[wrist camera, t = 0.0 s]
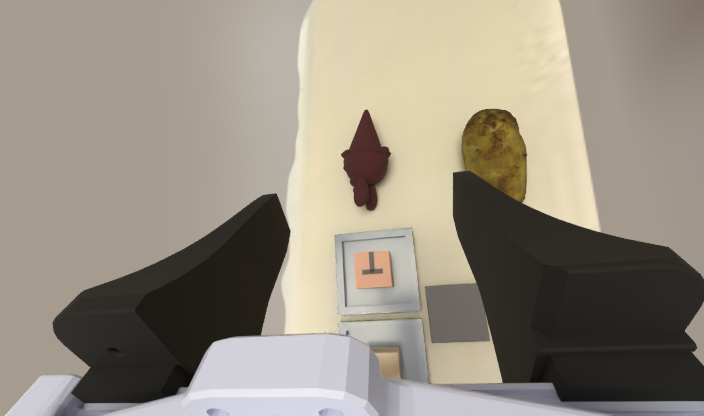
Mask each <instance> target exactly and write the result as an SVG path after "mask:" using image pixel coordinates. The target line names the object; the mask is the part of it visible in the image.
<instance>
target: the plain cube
mask: <svg viewBox="0 0 704 416" xmlns="http://www.w3.org/2000/svg"><path fill="white" fill-rule="evenodd" d="M370 348H371V349H372V350H373V352H374V353H375V355H376V356H377V357H378V359H379V363H380V367H381V371H382V374H383V376H388V377H394V378H400V379H402V371H401V360H400V350H399V346H380V347H370Z"/></svg>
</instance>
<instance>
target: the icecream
mask: <svg viewBox="0 0 704 416" xmlns="http://www.w3.org/2000/svg"><path fill="white" fill-rule="evenodd" d="M390 155H391V153H390V152H389V148H388V147H381V144H380V142H379V139H378V136H377V133H376V131H375V128H374V125H373V122H372V120H371V117H370V114H369V111H368V110H365V111H364V113H363V115H362V118H361V120H360V123H359V126H358V128H357V131H356V133H355V136H354V138H353V141H352V143H351V146H350V148H349V150H346V151H344V152H343V153H342V154H341V156H342V157H343V158H344V170H345V171H346V172H347V174H348V176H349V178H350V179H351V180H350V184H351V185H352V186H354V187H355V188H354V189H353V192H354V201H355V203H356V205H357V206H358V207H361V206H363V205H364V204H365V203H366V207H367V209H368V210H373V209H374V208H375V207H376V203H377V195H376V189H375V187H374V184H375V183H377V182H379V181H380V180H381V179H382V178H383V177H384V175H385V173H386V170H387V164H388V158H389V156H390Z"/></svg>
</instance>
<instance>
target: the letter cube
mask: <svg viewBox="0 0 704 416" xmlns="http://www.w3.org/2000/svg"><path fill="white" fill-rule="evenodd" d="M354 265H355V281H356V289H366V288H382V287H394V284H393V273H392V263H391V254H390V252H389V250H383V251H370V252H358V253H354Z"/></svg>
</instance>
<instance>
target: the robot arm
mask: <svg viewBox="0 0 704 416" xmlns="http://www.w3.org/2000/svg"><path fill="white" fill-rule="evenodd" d="M453 218H454V222H455V226H456V230H457V234H458V238H459V240H460V243H461V245H462V248H463V250H464V253H465V255H466V258H467V260H468V263H469V265H470V268H471V270H472V273H473V275H474V278H475V280H476V283H477V286H478V288H479V291H480V295H481V298H482V302H483V306H484V309H485V313H486V316H487V320H488V324H489V328H490V332H491V336H492V339H493V343H494V348H495V352H496V356H497V360H498V364H499V368H500V372H501V377H502V381H503V383H488V384H430V383H424V382H418V381H412V380H406V379H400V378H394V377H388V376H383V374H382V371H381V367H380V363H379V359H378V357H377V356H376V355H375V353H374V352H373V350H372V349H371V348H370V346H368V345H367V344H366V343H364V342H362V341H360V340H358V339H355V338H353V337H351V336H349V335H342V334H333V333H310V334H286V335H261V332H262V327H263V323H264V319H265V314H266V310H267V306H268V302H269V299H270V296H271V293H272V291H273V288H274V285H275V282H276V280H277V277H278V274H279V272H280V269H281V266H282V263H283V260H284V258H285V254H286V252H287V247H288V243H289V237H290V229H289V226H288V223H287V220H286V218H285V215H284V212H283V210H282V207H281V204H280V201H279V199H278V196H277V194H268V195H263V196H261V197H259V198H257V199H256V200H255V201H253V202H252V203H250V204H249V205H248V206H246V207H245V208H244V209H242V210H241V211H240V212H238V213H237V214H236V215H235V216H233V217H232V218H230V219H229V220H228V221H226V222H225V223H224V224H222V225H221V226H219V227H218V228H216V229H215V230H214V231H212V232H211V233H209V234H208V235H206V236H205V237H203V238H201V239H200V240H198V241H197V242H195V243H193V244H191V245H190V246H188V247H186V248H185V249H183V250H181V251H179V252H177V253H175V254H173V255H171V256H169V257H167V258H165V259H163V260H161V261H159V262H157V263H155V264H153V265H150V266H148V267H146V268H144V269H141V270H139V271H137V272H134V273H131V274H129V275H126V276H124V277H121V278H119V279H116V280H113V281H110V282H107V283H104V284H101V285H99V286H96V287H93V288H90V289H87V290H84V291H83V292H81V293H80V294H79V295H78V296H77V297H76V298H75V299H74V300H73V301H72V302H71V303H70V304H69V305H68V306H67V307H66V308H65V309H64V310H63V311H62V312H61V313H60V314H59V315H58V316H57V317H56V318H55V319H54V321H53V330H54V333H55V335H56V336H57V338H58V339H59V340H60V341H61V342H62V343H63V344H64V345H65V346H66V347H67V348H68V349H69V350H71V351H72V352H73V353H74V354H75V355H77V356H78V357H79V358H80V359H81V360H83V361H84V362H85V363H86V364H87V365H88V366H89V367H91V368H90V369H89V370H88V372H87V373H86V374H85V375H84V377H81V376H78V375H73V374H53V375H42V376H40V377H39V378H38V379H37V381H36V382H35V383H34V384H33V385H32V386H31V387H30V388H29V390H27V392H26V393H25V394H24V395H23V396H22V397H21V398H20V400H19V401H18V402H17V403H16V404H15V405H14V406H13V407H12V408H11V410H9V412H8V413H7V414H6V415H5V416H704V366H703V365H702V363H701V362H700V361H699V360H698V359H697V358H696V357H695V356H694V354H693V353H692V352H693V351H695V350H696V349H697V346H696V344H695V342H694V341H693V340H692V339H691V338H690V337H689V336H688V335H687V334H686V332H685V329H686V328H687V326H688V325H689V324H690V322H691V321H692V319H693V318H694V316H695V315H696V313H697V312H698V310H699V309H700V307H701V306H702V304H703V301H704V279H703V277H702V276H701V274H700V273H698V272H697V271H696V270H695V269H694V268H692V267H691V266H690V265H689V264H688V263H687V262H686V261H684V260H683V259H682V258H681V257H680V256H678V255H677V254H676V253H675V252H674V251H673V250H671V249H670V248H669V247H665V246H660V245H654V244H649V243H644V242H639V241H634V240H629V239H624V238H620V237H616V236H612V235H608V234H604V233H601V232H597V231H593V230H590V229H586V228H583V227H580V226H577V225H574V224H571V223H568V222H565V221H562V220H559V219H557V218H554V217H552V216H549V215H547V214H544V213H542V212H540V211H538V210H535V209H533V208H531V207H529V206H527V205H525V204H523V203H521V202H519V201H517V200H515V199H514V198H512V197H510V196H508V195H507V194H505V193H503V192H502V191H500V190H498V189H497V188H495V187H494V186H492V185H491V184H489V183H488V182H486V181H485V180H483V179H482V178H480V177H479V176H477V175H476V174H474V173H473V172H471V171H463V172H454V173H453Z"/></svg>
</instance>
